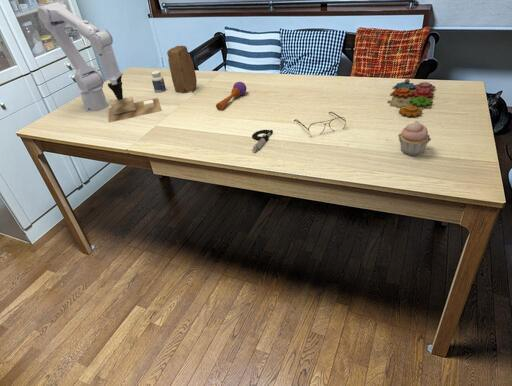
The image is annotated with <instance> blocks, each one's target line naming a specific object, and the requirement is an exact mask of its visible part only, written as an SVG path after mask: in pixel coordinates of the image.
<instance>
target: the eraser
mask: <svg viewBox="0 0 512 386" xmlns="http://www.w3.org/2000/svg"><path fill="white" fill-rule="evenodd" d="M151 99H152V100H150V99H146V100H147V101H145V100H143V101H144V106H145V109H147V108H152V107H155V106H154V102H153V99H154V98H151Z"/></svg>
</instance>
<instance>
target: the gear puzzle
mask: <svg viewBox="0 0 512 386" xmlns="http://www.w3.org/2000/svg"><path fill="white" fill-rule="evenodd" d="M391 88H392V90H393V91H392V92H390V94H389V96H390V97H391V100H390V99H389V100H387V103H386V104H389V106H390V107H395V108H396V109H399V110H398V113H399V114H401V116H406V117H407V118H409V117H413V118H415V117H417V116H421V115H422V113H423V111H424V110H430V109H431V108H432V104H433V103H434V101H433V97H434V96H435V93H434V91H435V89H436V86H435V85H433V84H432V83H430V82H427V81H425V82H424V81H423V82H419V83H418V84H414V83H413V82H411V80H410V78H405V80H404V81H402V82H397V83H396V84H395V85H394V86H392V87H391Z"/></svg>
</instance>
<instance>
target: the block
mask: <svg viewBox="0 0 512 386" xmlns="http://www.w3.org/2000/svg"><path fill="white" fill-rule="evenodd" d="M166 54H167V58H168V66H169V71H170V75H171V80H172V84H173V87H174V90H175V92H176V93H179V94H185V93H190V92H194V91H195V89H196V87H197V83H198V81H197V74H196V70H195V63H194V61H193V58H192V57H191V55H190V54H189V51H188V47H187V46H185V45H176V46H174V47H171V48H170V49H168V50H167V53H166Z"/></svg>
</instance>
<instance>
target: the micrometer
mask: <svg viewBox="0 0 512 386" xmlns="http://www.w3.org/2000/svg"><path fill="white" fill-rule="evenodd" d="M273 132H274V131H273V129H260V130H257V131H255V132H254V133H253V134H252V135H251V136H252V137H251V138H252V139H253V140H255V141H257V142H256V143H255V144H254V145H253V147H252V150H251V151H252V152H253V153H256V152H257V151H260V149H261V148H262V147H264V144H266V142H268V140H269V138H270V135H272V134H273ZM260 134H261V135H262V136H261V135H260ZM259 135H260V136H259Z"/></svg>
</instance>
